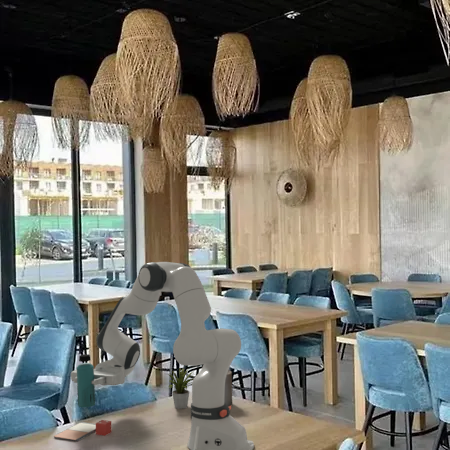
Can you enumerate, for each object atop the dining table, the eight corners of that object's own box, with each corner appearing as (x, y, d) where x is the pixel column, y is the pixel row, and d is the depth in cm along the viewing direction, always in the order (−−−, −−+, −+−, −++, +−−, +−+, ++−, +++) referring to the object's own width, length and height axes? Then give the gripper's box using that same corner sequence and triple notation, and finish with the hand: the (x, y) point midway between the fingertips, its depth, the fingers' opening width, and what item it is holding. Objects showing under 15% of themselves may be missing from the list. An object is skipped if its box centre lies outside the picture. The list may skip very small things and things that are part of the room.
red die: (111, 432, 214) (111, 420, 214) (105, 435, 211) (105, 424, 211) (102, 430, 216) (102, 419, 216) (95, 434, 212) (95, 422, 212)
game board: (103, 426, 220) (103, 424, 220) (76, 441, 205) (76, 439, 205) (81, 423, 224) (81, 421, 224) (52, 438, 208) (52, 436, 208)
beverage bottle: (91, 412, 214) (89, 356, 214) (74, 411, 216) (72, 356, 216) (98, 406, 221) (96, 353, 221) (82, 406, 222) (80, 352, 222)
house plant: (177, 415, 233) (177, 374, 233) (155, 408, 242) (155, 368, 243) (203, 407, 243) (203, 367, 243) (181, 400, 253) (181, 362, 253)
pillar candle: (222, 399, 254) (221, 364, 254) (237, 405, 246) (236, 369, 246) (204, 404, 248) (203, 368, 248) (218, 409, 240) (218, 373, 240)
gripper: (83, 362, 234) (61, 370, 221) (127, 367, 226) (107, 375, 213) (83, 378, 234) (61, 387, 221) (128, 383, 226) (107, 393, 213)
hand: (84, 381), depth 217 cm, fingers closed on beverage bottle, 6 cm apart
